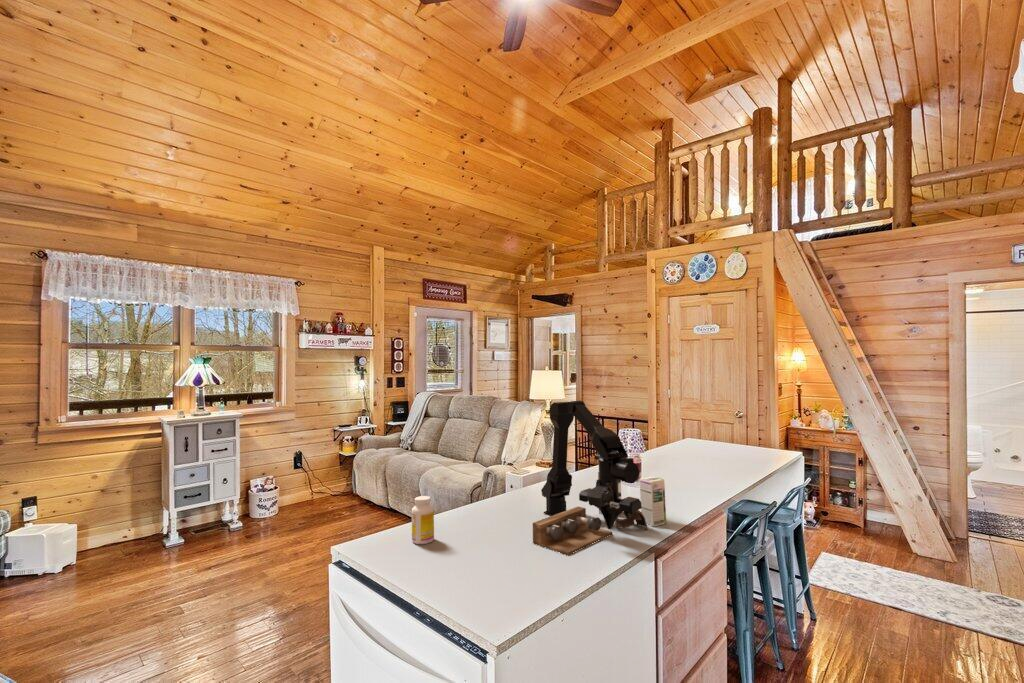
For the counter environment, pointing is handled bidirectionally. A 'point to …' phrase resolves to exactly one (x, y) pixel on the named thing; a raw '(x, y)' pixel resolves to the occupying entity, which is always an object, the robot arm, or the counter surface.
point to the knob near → (555, 532)
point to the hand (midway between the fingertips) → (609, 528)
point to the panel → (568, 540)
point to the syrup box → (653, 500)
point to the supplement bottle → (422, 521)
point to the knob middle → (570, 526)
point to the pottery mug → (630, 519)
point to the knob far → (590, 522)
